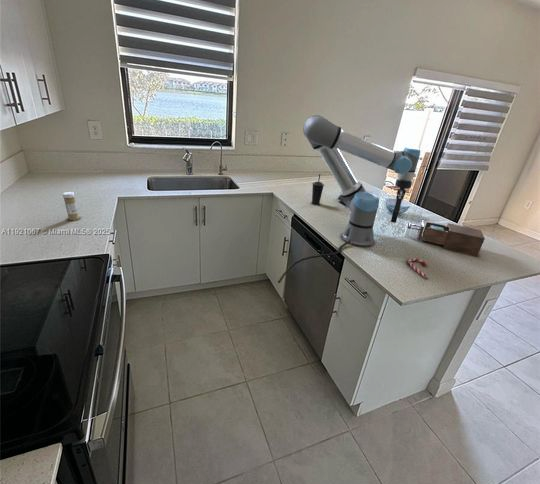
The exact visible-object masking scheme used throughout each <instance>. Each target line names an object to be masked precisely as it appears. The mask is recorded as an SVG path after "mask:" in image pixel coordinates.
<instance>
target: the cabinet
mask: <svg viewBox="0 0 540 484" xmlns="http://www.w3.org/2000/svg"><path fill="white" fill-rule="evenodd" d="M446 226H448V229H449V234H448V236H447V239H446V242H445V244H444V245H442V248H443V249H444V250H449V251H452V252H457V253H461V254H464V255H465V254H466V255H469V256H474V257H478V255H479V254H480V251H481V249H482V246H483V244H484V242H485V240H486V238H485V235H484V234H483V231H482V229H478V228H473V227H468V226H463V225H459V224H454V223H450V222H448V223H447V224H446Z"/></svg>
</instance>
